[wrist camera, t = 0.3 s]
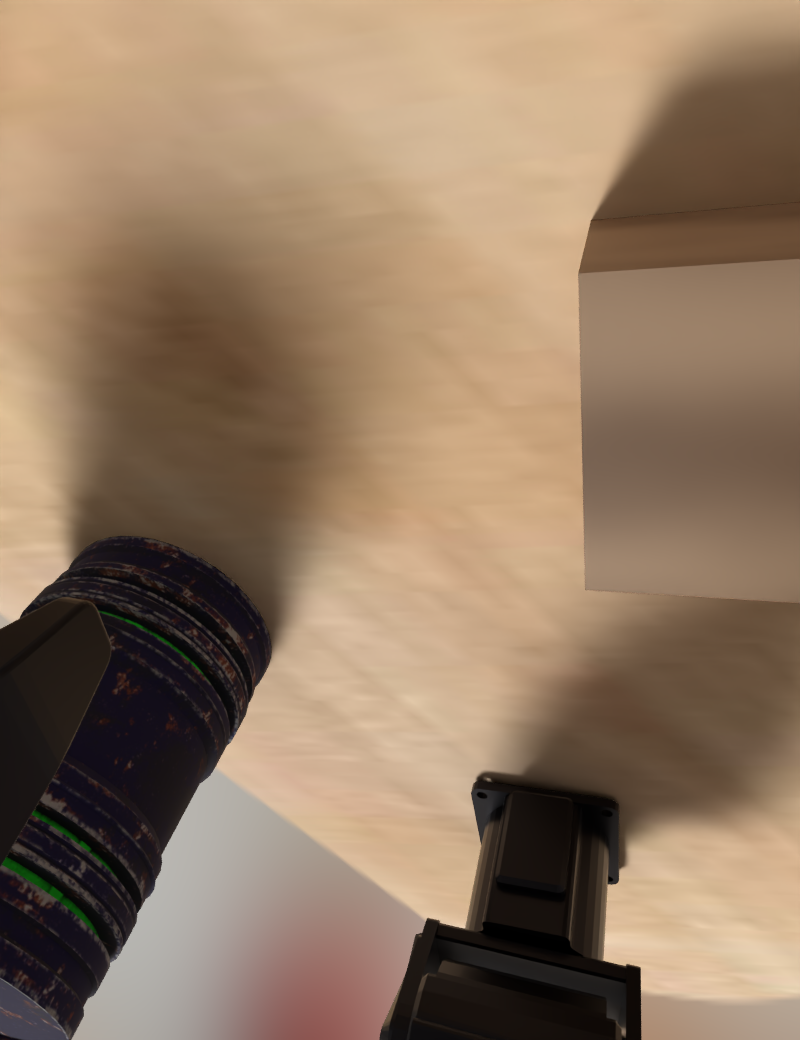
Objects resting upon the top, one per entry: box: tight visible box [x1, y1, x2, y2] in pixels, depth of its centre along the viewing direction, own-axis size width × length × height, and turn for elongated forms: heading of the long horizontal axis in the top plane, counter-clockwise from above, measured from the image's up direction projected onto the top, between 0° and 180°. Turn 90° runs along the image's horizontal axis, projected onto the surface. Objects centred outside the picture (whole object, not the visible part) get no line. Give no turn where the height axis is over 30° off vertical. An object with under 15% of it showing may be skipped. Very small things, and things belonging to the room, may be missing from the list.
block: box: [578, 202, 800, 603], centre depth 18 cm, size 9×9×4 cm
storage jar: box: [0, 536, 271, 1040], centre depth 28 cm, size 10×10×15 cm
